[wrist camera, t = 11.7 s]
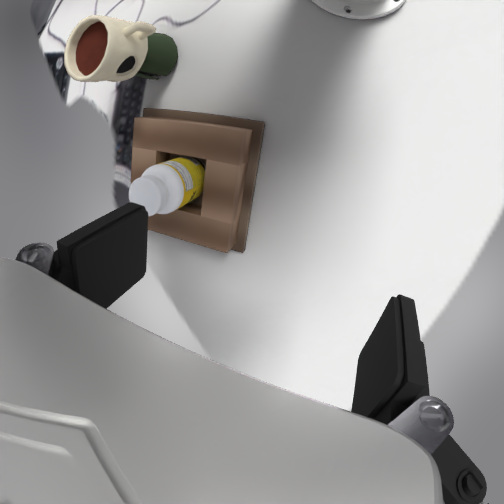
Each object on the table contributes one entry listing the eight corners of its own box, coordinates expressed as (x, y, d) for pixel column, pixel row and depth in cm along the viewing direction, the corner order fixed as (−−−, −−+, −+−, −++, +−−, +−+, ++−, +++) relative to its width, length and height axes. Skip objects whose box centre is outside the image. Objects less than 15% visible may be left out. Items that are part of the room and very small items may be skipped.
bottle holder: (147, 108, 37) (128, 109, 34) (265, 122, 33) (254, 123, 30) (141, 220, 44) (125, 229, 41) (244, 250, 41) (233, 263, 37)
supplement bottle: (182, 202, 40) (135, 229, 32) (166, 163, 38) (115, 180, 30) (217, 190, 38) (174, 214, 29) (201, 148, 36) (153, 161, 28)
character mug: (134, 96, 37) (59, 101, 26) (123, 52, 34) (49, 46, 23) (203, 65, 33) (133, 52, 21) (189, 17, 30) (120, -9, 19)
